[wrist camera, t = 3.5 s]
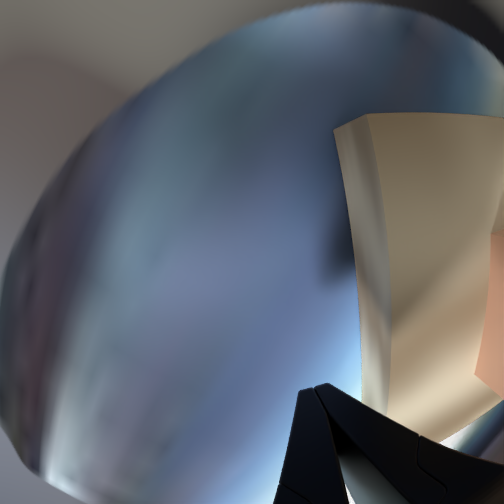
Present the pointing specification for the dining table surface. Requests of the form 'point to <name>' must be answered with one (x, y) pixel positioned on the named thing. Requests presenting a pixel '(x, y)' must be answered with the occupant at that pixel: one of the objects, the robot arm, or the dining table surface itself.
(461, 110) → the dining table surface
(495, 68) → the dining table surface
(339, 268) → the dining table surface
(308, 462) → the robot arm
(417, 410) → the birch plate
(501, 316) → the terracotta tile
